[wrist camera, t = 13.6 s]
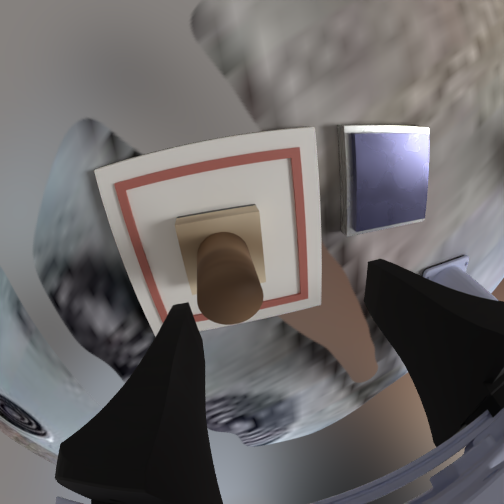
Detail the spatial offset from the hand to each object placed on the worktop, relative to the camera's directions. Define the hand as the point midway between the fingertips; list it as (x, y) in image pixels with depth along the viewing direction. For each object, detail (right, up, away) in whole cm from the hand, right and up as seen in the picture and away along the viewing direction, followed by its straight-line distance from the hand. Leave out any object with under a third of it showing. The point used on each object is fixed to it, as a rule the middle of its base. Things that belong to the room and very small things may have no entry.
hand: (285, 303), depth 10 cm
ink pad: (+9, +8, +8) cm, 14 cm away
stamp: (-3, +2, +8) cm, 9 cm away
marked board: (-3, +3, +9) cm, 10 cm away
